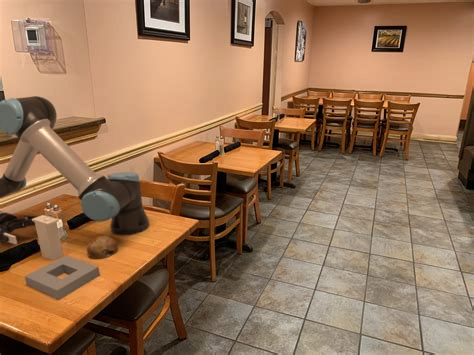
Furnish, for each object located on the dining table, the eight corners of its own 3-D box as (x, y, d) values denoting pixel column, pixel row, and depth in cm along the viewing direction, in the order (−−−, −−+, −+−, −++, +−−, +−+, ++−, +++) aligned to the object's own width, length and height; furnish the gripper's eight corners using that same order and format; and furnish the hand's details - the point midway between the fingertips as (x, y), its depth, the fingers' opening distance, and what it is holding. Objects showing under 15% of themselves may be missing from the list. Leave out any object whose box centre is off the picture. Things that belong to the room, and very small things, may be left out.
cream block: (50, 250, 128) (42, 212, 124) (65, 256, 124) (58, 217, 120) (39, 255, 125) (31, 216, 121) (55, 261, 121) (46, 221, 116)
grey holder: (67, 263, 119) (66, 255, 118) (99, 275, 111) (98, 266, 110) (26, 284, 108) (24, 276, 107) (58, 299, 100) (57, 290, 99)
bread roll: (97, 270, 121) (101, 253, 117) (79, 252, 125) (81, 235, 121) (120, 257, 129) (124, 241, 125) (102, 241, 133) (105, 225, 129)
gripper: (36, 219, 148) (68, 228, 138) (-31, 244, 128) (0, 257, 117) (32, 202, 146) (64, 210, 135) (-37, 225, 125) (-5, 237, 115)
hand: (34, 232), depth 126 cm, fingers open, 13 cm apart
